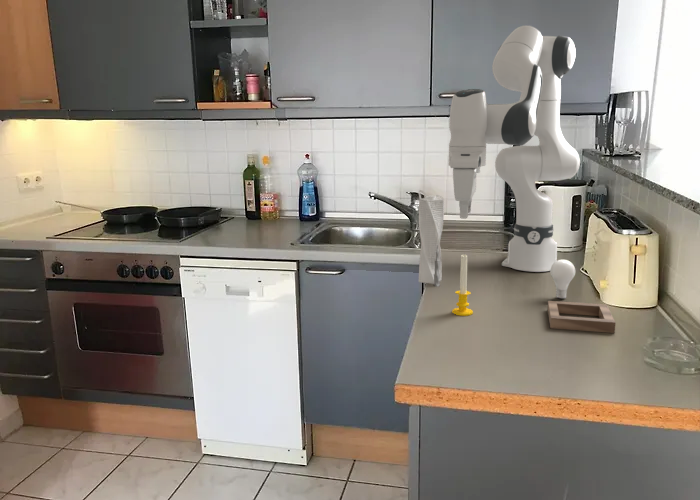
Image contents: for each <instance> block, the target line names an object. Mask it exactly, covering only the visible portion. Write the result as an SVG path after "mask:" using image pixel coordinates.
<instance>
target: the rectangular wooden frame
mask: <svg viewBox="0 0 700 500" xmlns="http://www.w3.org/2000/svg"><path fill="white" fill-rule="evenodd" d="M547 314H548V322H549V327H550V329H556V330H557V329H558V330H569V331H570V330H572V331H582V332H584V331H585V332H596V333H597V332H598V333H609V334H610V333H612V334H615V331H616V321H615V319H614V317H613V314H612V312H611V310H610V308H609V306H608V305H607V304H605V303H603V304H602V303H589V302H588V303H587V302H573V301H556V300H555V301H554V300H548V301H547ZM560 314H561V315H560ZM562 314H565V316H563V315H562ZM566 315H580V316H579V317H577V316H566ZM581 316H593V317H594V318H593V317H581ZM595 317H598V318H595Z"/></svg>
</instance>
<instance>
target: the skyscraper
mask: <svg viewBox="0 0 700 500" xmlns="http://www.w3.org/2000/svg"><path fill="white" fill-rule="evenodd" d="M421 193H422V194H423V196H424V197H423V198H422V196H421ZM444 214H445V199H444V197H442V196H441V195H438V194H436V195H426V192H425V191H423V190H419V191H418V227H419V228H418V230H419V237H420V242H421V244H420V253H419V265H418V283H424V284H429V285H433V286H434V287H440V282H441V281H442V280H443V279H442V278H443V276H442V272H443V271H442V270H443V269H442V265H443V264H442V263H443V262H442V251H441V250H442V249H441V238H442V234H443V228H444V216H445V215H444Z"/></svg>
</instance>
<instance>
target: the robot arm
mask: <svg viewBox="0 0 700 500" xmlns="http://www.w3.org/2000/svg"><path fill="white" fill-rule="evenodd" d="M497 50H498V51H497V53H496V55H495V56H494V58H493V62H492V67H491V69H492V71H491V72H492V74H493V77H494V79H495V80H496V82H497V83H498V84H499V86H501V87H503V88H504V89H507V90H509V91H514V92H519V93H520V97H519V100H517V101H515V102H512V103H494V104H490V103H488V102H487V96H486V92H485V90H484V89H480V88H479V89H478V88H471V89H464V90H462V89H461V90H458V91H457V92H455V93H454V94H453V96H452V99H451V104H450V111H449V124H448V126H449V127H448V128H449V132H450V140H449V143H448V166H449V167H450V168H451V169H452V179H453V194H454V199H455V201H457V202H458V203H459V204H458V205H459V218H460V219H464V220H466V219H468V217H469V213H471V211H472V200H473V197H474V195H475V193H476V190H477V174H479V173H481V167H485V166H486V165H487V163H486V161H487V144H488V145H491V144H492V145H511V146H509V147H506V148H502V149H501V150H500V151H499V153H498V154H497V155H496V157H495V162H494V164H495V165H494V167H495V171H496V173H497V175H498V176H499V178H500V179H502V180H503V181H505V182H506V183H507V185H509V187H510V189H511V190H512V193H513V195H514V198H515V205H516V206H515V208H516V209H515V211H516V215H515V216H516V218H515V219H516V220H515V223H514V226H513V227H514V228H513V235H514V236H513V237H512V238H511V239H510V240H509V242H508V244H507V245H508V246H507V250H508V252H507V257H506V258H505V259H504V260H503V261H502V262H501V266H503V267H507V268H512V269H513V270H517V271H523V272H535V273H540V272H550V269H551V266H552V264H553V263H554V262H556V261H558V260H557V257H558V242H556V241H555V240H554V238H553V236H554V225H553V214H554V212H553V211H554V202H553V199H552V198H551V197H550V196H549V195H548V194H546V193H545V192H542V191H540V190H538V189H537V186H536V182H539V181H541V182H546V181H547V182H549V181H550V182H551V181H553V182H555V181H556V182H557V181H563V180H568V179H572V178H574V177H575V176H576V175H577V173H578V172H579V169H580V165H581V159H580V155H579V153H578V151H577V150H576V149H575V148H574V147H572V146H571V145H570V144H569V143H568V141H567V140H566V139H565V137H564V135H563V132H562V129H561V119H560V117H561V116H560V115H561V114H560V113H561V112H560V111H561V96H562V85H561V84H562V83H561V82H562V81H561V80H562V78H563V77H564V75H566V74H568V73H569V71H570V70H571V69H572V68H573V66H574V63H575V59H576V55H577V54H576V53H577V52H576V47H575V42H574V41H573V39H571V37H569V36H565V35H557V36H552V35H542V33H541V31H540V30H539V29H538V28H536V27H534V26H533V25H521V26H518V27H516V28H515V29H514V30H513V31H511V33H510V34H509V35H507V37H506V38H505V39H504V41H503V42H502V43H501V45H500V46H499V47H498V49H497ZM534 136H536V137H537V138H538V142H539V144H538V145H525V144H526V143H528V142H529V141H530V140H532V138H533V137H534Z"/></svg>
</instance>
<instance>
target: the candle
mask: <svg viewBox="0 0 700 500" xmlns="http://www.w3.org/2000/svg"><path fill="white" fill-rule="evenodd" d="M459 275H460V276H459V279H460V280H459V290H456V291H455V294H456V295H457V296H458V302H456V306H457V307H454V308H452V311H451V312H452V314H453V313H454V315H455V314H456V316H460V317H461V316H462V317H468V316H471V315H473V314H474V311H473V310H472V309H471V308H468V307H469V306H470V303H469V302H468V296H469V295H471V294H472V293H471V291H468V290H467V287H468V286H467V285H468V284H467V283H468V282H467V281H468V255H467V254H465V252H464V253H463V254H461V255H460V273H459Z"/></svg>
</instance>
